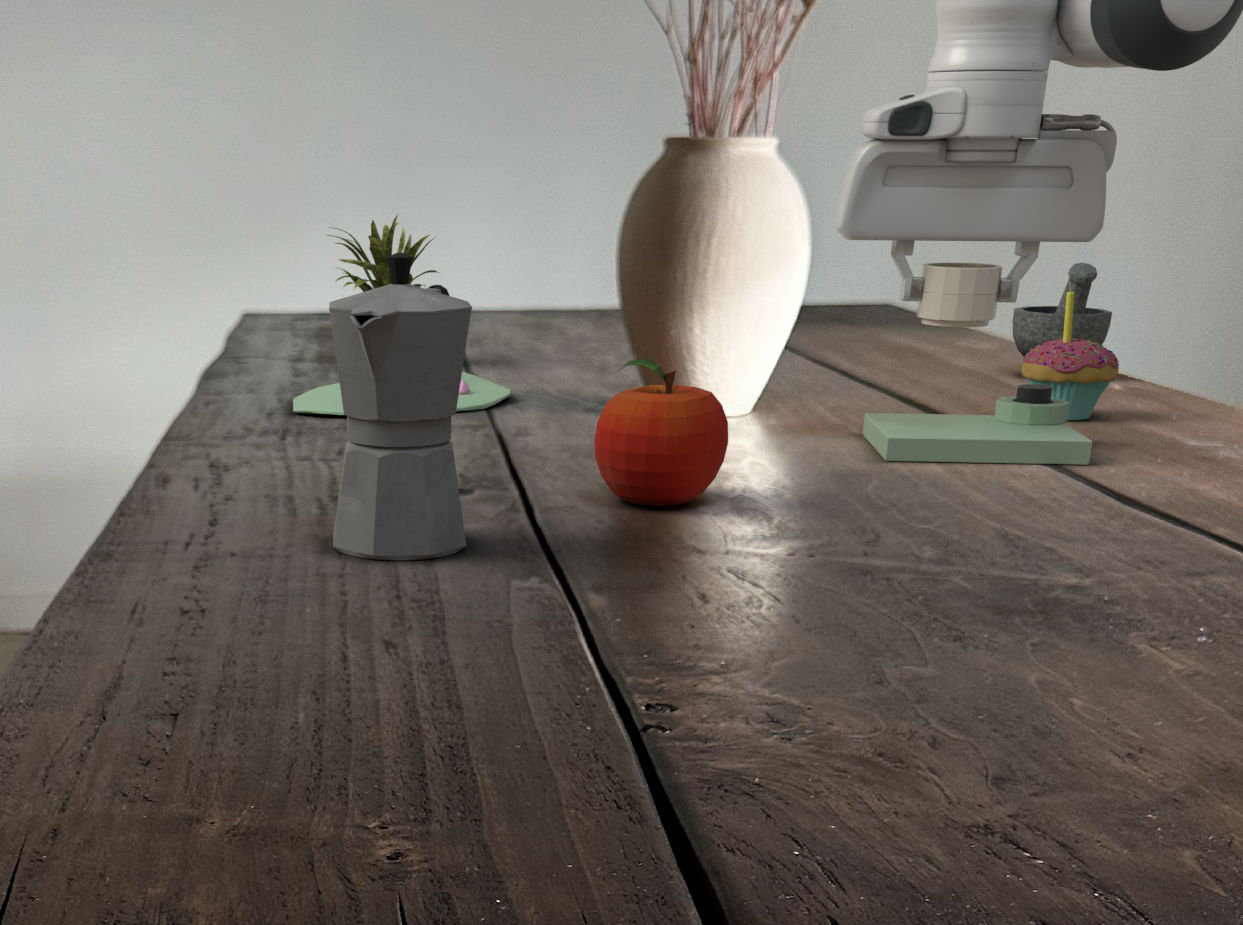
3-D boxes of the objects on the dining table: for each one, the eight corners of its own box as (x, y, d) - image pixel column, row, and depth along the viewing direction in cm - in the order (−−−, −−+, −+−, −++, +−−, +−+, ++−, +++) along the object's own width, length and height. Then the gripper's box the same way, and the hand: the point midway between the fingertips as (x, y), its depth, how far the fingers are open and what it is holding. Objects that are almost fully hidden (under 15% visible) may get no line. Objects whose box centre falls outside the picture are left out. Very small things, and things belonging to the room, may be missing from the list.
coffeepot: (432, 574, 104) (436, 262, 97) (292, 561, 107) (285, 258, 100) (507, 523, 117) (515, 245, 110) (380, 513, 121) (380, 242, 113)
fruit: (711, 519, 118) (723, 370, 114) (577, 509, 122) (584, 364, 118) (734, 493, 127) (745, 354, 123) (607, 485, 130) (615, 349, 126)
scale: (1052, 437, 149) (1059, 396, 148) (1093, 465, 137) (1100, 420, 136) (861, 434, 151) (866, 393, 150) (885, 461, 139) (890, 417, 137)
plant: (441, 426, 155) (442, 323, 151) (244, 411, 163) (241, 313, 160) (539, 391, 176) (543, 299, 172) (360, 379, 184) (360, 291, 180)
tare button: (1045, 402, 147) (1048, 384, 146) (1053, 407, 144) (1056, 389, 144) (1011, 402, 147) (1014, 384, 146) (1019, 407, 145) (1021, 388, 144)
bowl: (984, 320, 141) (992, 262, 139) (1000, 328, 135) (1009, 268, 133) (910, 319, 141) (917, 262, 140) (922, 327, 136) (930, 267, 134)
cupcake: (1081, 426, 154) (1103, 287, 150) (995, 416, 160) (1014, 281, 155) (1127, 416, 160) (1150, 281, 155) (1042, 406, 165) (1062, 276, 161)
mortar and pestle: (997, 370, 190) (1013, 256, 185) (1083, 370, 189) (1102, 256, 185) (1023, 384, 180) (1041, 263, 175) (1114, 385, 179) (1135, 264, 174)
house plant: (316, 357, 202) (313, 209, 196) (431, 355, 204) (432, 208, 197) (326, 372, 189) (324, 215, 183) (449, 370, 191) (451, 214, 184)
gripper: (1109, 114, 134) (1080, 299, 139) (843, 114, 136) (824, 296, 142) (1132, 114, 128) (1101, 306, 134) (854, 113, 130) (834, 303, 136)
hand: (956, 301), depth 138 cm, fingers closed on bowl, 6 cm apart
